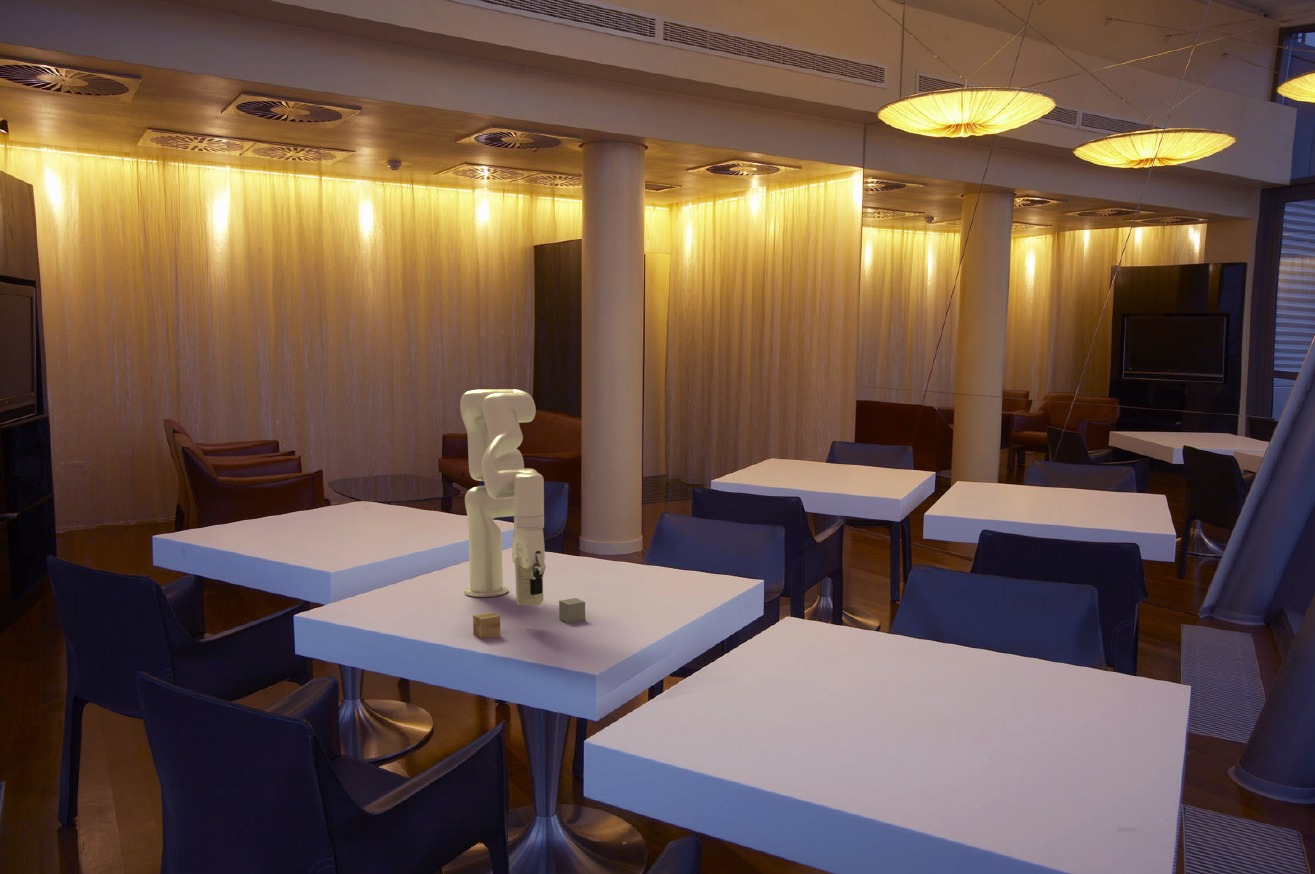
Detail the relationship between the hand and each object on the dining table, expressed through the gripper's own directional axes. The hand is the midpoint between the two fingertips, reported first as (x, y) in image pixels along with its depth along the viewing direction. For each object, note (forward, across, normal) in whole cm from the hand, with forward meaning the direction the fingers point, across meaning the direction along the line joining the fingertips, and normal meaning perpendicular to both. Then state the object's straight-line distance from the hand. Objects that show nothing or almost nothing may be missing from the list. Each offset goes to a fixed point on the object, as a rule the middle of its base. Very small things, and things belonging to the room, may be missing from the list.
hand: (529, 589), depth 229 cm
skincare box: (+4, 0, 0) cm, 4 cm away
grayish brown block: (+10, +1, +12) cm, 15 cm away
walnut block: (+10, +1, -12) cm, 15 cm away
